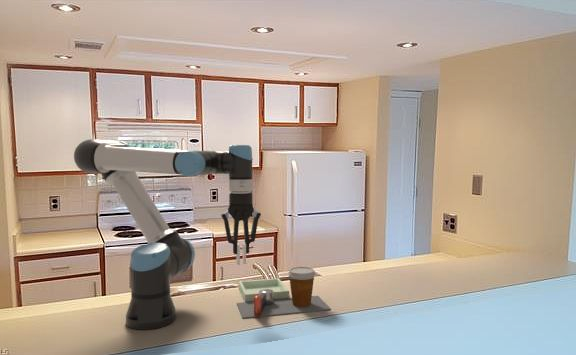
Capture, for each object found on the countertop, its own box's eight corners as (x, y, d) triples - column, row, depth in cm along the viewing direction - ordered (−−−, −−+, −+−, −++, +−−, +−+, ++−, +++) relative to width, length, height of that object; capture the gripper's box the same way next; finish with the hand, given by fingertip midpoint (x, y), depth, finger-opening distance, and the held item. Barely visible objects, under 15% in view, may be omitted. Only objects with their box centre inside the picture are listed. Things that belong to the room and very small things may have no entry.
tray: (245, 303, 148) (245, 294, 148) (238, 288, 164) (238, 281, 163) (289, 299, 152) (289, 290, 152) (278, 285, 168) (278, 278, 167)
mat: (242, 318, 134) (242, 317, 134) (236, 304, 147) (236, 302, 147) (331, 309, 142) (331, 308, 142) (318, 296, 155) (318, 295, 155)
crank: (260, 304, 144) (260, 287, 144) (267, 305, 144) (267, 288, 143) (253, 315, 134) (252, 297, 134) (260, 316, 134) (260, 297, 134)
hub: (260, 307, 144) (260, 294, 144) (257, 302, 149) (257, 289, 149) (313, 302, 149) (313, 289, 149) (309, 297, 154) (309, 285, 153)
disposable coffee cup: (291, 310, 140) (291, 274, 140) (285, 300, 149) (285, 267, 149) (319, 307, 142) (319, 272, 142) (311, 298, 152) (310, 265, 151)
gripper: (219, 193, 132) (220, 267, 133) (264, 192, 135) (264, 264, 137) (217, 191, 139) (218, 262, 140) (260, 190, 143) (260, 259, 144)
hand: (241, 263), depth 139 cm, fingers closed
